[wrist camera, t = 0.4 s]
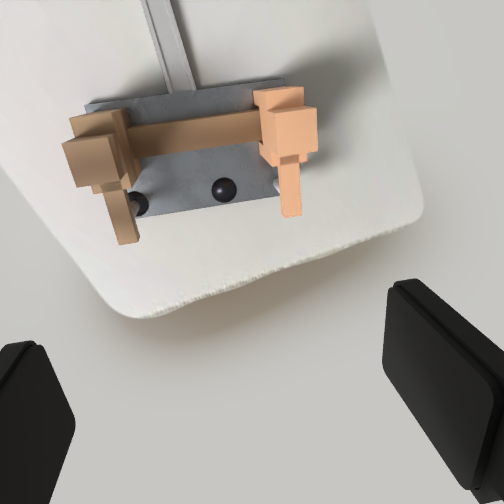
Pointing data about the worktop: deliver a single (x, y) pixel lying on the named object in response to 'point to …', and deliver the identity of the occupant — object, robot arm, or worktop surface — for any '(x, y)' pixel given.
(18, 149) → the worktop surface
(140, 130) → the trammel bar
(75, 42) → the worktop surface
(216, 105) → the flange plate
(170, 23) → the adjustable wrench
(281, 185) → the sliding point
